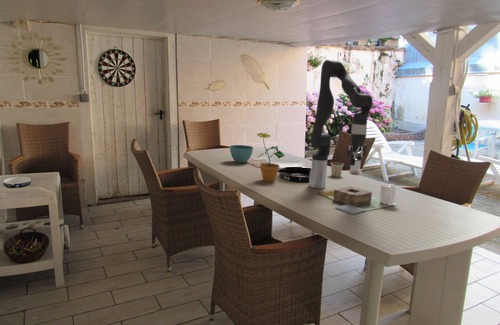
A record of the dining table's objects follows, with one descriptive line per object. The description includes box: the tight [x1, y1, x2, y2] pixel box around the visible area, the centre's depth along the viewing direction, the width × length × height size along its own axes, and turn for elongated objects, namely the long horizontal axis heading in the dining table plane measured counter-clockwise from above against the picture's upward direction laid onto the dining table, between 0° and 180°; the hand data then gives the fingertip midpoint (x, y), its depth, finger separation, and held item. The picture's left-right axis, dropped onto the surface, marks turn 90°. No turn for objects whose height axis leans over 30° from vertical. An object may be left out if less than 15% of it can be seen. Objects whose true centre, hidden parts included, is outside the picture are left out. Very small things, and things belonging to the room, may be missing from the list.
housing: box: [332, 185, 373, 207], centre depth 205 cm, size 14×14×6 cm
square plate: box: [267, 159, 309, 172], centre depth 285 cm, size 27×27×4 cm
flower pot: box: [330, 161, 345, 177], centre depth 266 cm, size 9×9×9 cm
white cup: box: [379, 183, 397, 205], centre depth 204 cm, size 8×8×10 cm
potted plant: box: [256, 132, 286, 183], centre depth 242 cm, size 18×19×30 cm
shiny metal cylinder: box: [349, 157, 362, 176], centre depth 202 cm, size 5×5×8 cm
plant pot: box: [229, 144, 254, 164], centre depth 299 cm, size 18×18×12 cm
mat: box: [335, 204, 367, 216], centre depth 190 cm, size 11×10×1 cm
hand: (355, 164), depth 202 cm, fingers closed on shiny metal cylinder, 5 cm apart
